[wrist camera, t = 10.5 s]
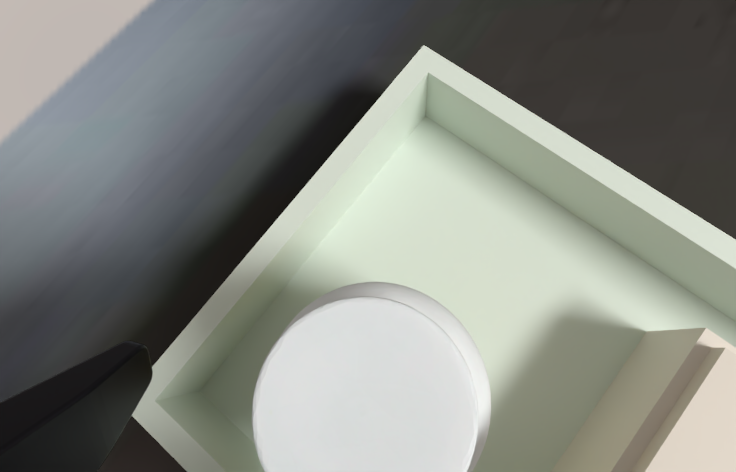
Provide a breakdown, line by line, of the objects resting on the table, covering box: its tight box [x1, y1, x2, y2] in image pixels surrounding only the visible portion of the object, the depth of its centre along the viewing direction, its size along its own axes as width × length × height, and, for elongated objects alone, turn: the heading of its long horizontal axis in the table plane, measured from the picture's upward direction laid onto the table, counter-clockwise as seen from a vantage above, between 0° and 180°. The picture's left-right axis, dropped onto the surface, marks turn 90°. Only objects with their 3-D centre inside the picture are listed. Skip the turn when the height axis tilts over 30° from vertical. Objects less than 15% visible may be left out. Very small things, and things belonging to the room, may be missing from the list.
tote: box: [132, 45, 736, 472], centre depth 15 cm, size 22×16×4 cm
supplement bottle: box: [252, 282, 491, 472], centre depth 13 cm, size 5×5×10 cm
